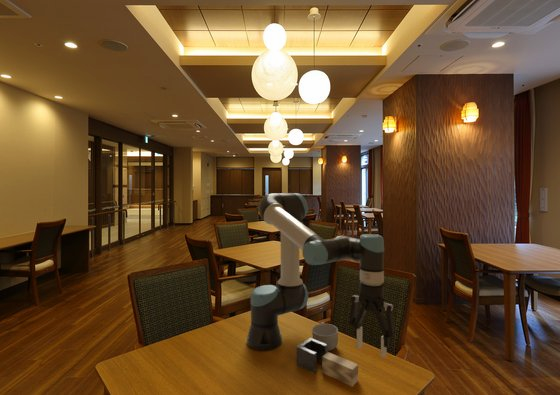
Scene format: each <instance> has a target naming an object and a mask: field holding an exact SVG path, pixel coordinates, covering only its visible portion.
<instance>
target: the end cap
mask: <svg viewBox="0 0 560 395" xmlns="http://www.w3.org/2000/svg"><path fill="white" fill-rule="evenodd" d="M295 350H296V360H295V361H296V365H295V366H298V367H300V368H302V369H305V371H308V372H310V373H312V374H315V373H316V372H317V362H319V363H322V357H323V356H324V355H325V354H326V353H328V351H327V344H325V343H323V342H320V341H318V340H315V339H313V337H309V338H308V339H306V340H304V341H303V342H301V343H299V344H298V345H297V346H296V348H295Z"/></svg>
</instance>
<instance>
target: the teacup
mask: <svg viewBox="0 0 560 395" xmlns="http://www.w3.org/2000/svg"><path fill="white" fill-rule="evenodd" d="M311 332H312V334H311V336H312V339H315V340H318V341H320V342H323V343H325V344H327V352H331V351H332V350H334V349H335V348H336V347H337V346H338V343H339V333H338V332H339V329H338V327H337V326H336V325H334V324H330V323H325V322H324V321H321V322H320V323H319V324H316V325H314V326H313V327H312V328H311Z"/></svg>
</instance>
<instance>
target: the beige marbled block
mask: <svg viewBox="0 0 560 395" xmlns="http://www.w3.org/2000/svg"><path fill="white" fill-rule="evenodd" d="M321 366H322V368H321V370H322V371H321V372H322V374H325V376H326V375H327V376H328V377H331V378H332V379H335V380H337V381H338V382H341V383H344V384H346V385H347V386H349V387H352V388H354V386H355V385H356V384H357V383H358V382H359V364H357V363H355V362H353V361H351V360H350V359H349V360H348V359H346V358H343V357H341V356H339V355H336V354H334V353H332V352H330V351H327V353H326V354H325V355H324V356H323V357H322V362H321Z"/></svg>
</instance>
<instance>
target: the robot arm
mask: <svg viewBox="0 0 560 395" xmlns="http://www.w3.org/2000/svg"><path fill="white" fill-rule="evenodd" d="M257 208H258V214H259V216H260V218H261V219H262V220H263V221H264V222H265V223H266V224H268V225H270V226H271V225H272V226H273V227H275V228H276V229H277V231H279V232H280V278H279V279H278V280H277V285H273V284H264V285H260V286H257V287H255V288H254V289H253V290H252V292H251V294H250V295H251V296H250V326H249V330H248V334H247V337H246V344H247V346H248V347H249V348H251V349H252V350H255V351H259V352H260V351H264V352H265V351H272V350H275V349H277V348H279V347H280V346H281V345H282V343H283V342H282V341H283V338H282V337H283V335H282V333H281V331H280V330H281V329H280V327H279V322H278V321H279V319H278V318H279V316H281V315H285V314H288V313H291V312H297V311H299V310H301V309H304V307H306V306H307V303H308V302H309V291H308V289H307V286H306V285H305V283H303V280H302V279H301V278H300V250H301V252H302V257H303V259H304V261H305V262H306V264H308V265H310V266H316V265H317V266H321V265H324V264H329V263H333V262H334V263H335V262H340V261H345V260H352V261H355V262H356V261H357V262H359V281H360V282H359V295H357V294H354V295H352V296H351V297H350V300H351V306H350V313H349V320H348V324H349V325H350V326H353V328H354V330H353V331H354V334H353V335H354V337H355V338H356V349H357V350H359V349H361V348H362V347H363V326H362V322H363V319H364V318H365V315H366V314H367V312H372V313H374V316H375V317H376V319H377V322H378V324H379V327H380V331H381V333H382V336H380V358H381V359H384V358H385V357H386V356H387V355H388V354H387V350H388V347H390V338H391V339H393V338H394V337H395V336H396V334H397V332H396V325H395V318H394V306H395V305H394V303H388V302H386V300H385V298H384V295H385V294H384V293H385V287H384V286H385V285H384V282H385V268H384V267H385V266H384V261H385V250H386V249H385V242H384V241H385V239H384V237H383V236H382V235H380V234H372V233H365V234H361V235H360V236H359V238H355V237H351V236H347V235H338V236H336V237H335V238H331V239H325V238H323V237H321V236H320V235H319V234H317V233H315V232H314V231H313V230H312V229H311V228H309V227H308V226H306V225H305V224H304V222H303V219H304V218H305V217H306V216H307V214H308V211H309V206H308V202H307V199H306V198H304V195H302V194H301V193H297V192H296V193H295V192H285V193H284V192H283V193H282V192H281V193H279V192H278V193H276V192H275V193H269V194H266V195H265V196H263V198H261V200H260V201H259V203H258V207H257ZM359 302H360V304H361V307H360V309H359V313H358V308H359V307H358V306H359ZM383 307H384V310H385V311H386V312H385V316H386V319H385V316H384V310H383ZM357 313H358V315H357ZM386 321H387V322H386Z"/></svg>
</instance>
